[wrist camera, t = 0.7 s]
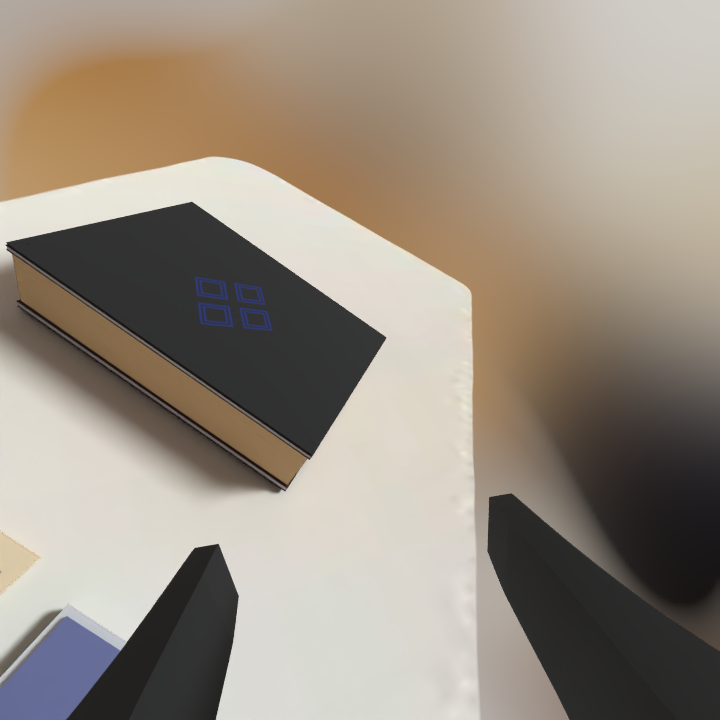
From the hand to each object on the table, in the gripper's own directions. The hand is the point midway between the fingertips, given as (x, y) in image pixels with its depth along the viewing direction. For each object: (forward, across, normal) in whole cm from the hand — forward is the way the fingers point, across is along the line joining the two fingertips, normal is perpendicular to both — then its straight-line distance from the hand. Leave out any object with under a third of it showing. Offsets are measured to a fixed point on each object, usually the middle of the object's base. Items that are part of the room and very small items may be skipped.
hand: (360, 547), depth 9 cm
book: (+27, +11, +3) cm, 29 cm away
